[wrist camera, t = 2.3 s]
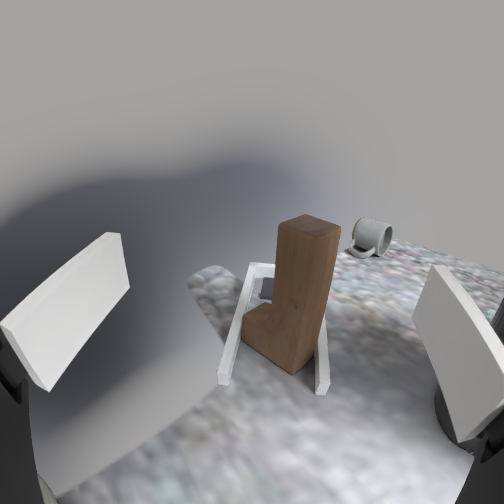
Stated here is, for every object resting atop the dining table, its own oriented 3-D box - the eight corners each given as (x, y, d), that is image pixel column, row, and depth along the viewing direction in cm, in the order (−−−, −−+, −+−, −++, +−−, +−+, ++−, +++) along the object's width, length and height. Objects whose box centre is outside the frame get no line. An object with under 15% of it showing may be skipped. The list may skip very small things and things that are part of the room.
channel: (317, 280, 50) (319, 268, 49) (325, 395, 28) (330, 383, 27) (249, 273, 51) (250, 262, 50) (218, 384, 29) (216, 371, 28)
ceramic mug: (362, 239, 67) (367, 211, 64) (389, 251, 62) (396, 222, 58) (340, 251, 61) (345, 220, 58) (369, 265, 56) (377, 232, 52)
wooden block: (240, 340, 36) (242, 210, 28) (263, 325, 39) (271, 202, 31) (292, 377, 30) (318, 238, 22) (314, 357, 33) (343, 225, 25)
